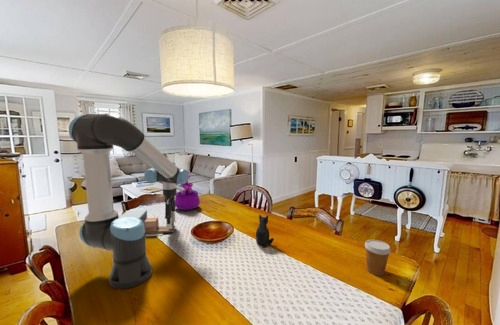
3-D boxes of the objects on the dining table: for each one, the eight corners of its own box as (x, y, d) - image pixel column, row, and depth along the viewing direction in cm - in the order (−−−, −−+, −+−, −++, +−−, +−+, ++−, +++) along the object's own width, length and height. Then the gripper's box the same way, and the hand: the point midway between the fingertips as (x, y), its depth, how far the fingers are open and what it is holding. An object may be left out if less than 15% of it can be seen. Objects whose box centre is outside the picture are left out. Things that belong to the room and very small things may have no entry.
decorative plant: (186, 214, 163) (184, 173, 159) (169, 209, 173) (167, 170, 169) (204, 207, 178) (204, 169, 174) (188, 203, 188) (187, 167, 184)
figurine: (274, 241, 123) (275, 214, 121) (272, 250, 113) (273, 221, 111) (257, 239, 124) (257, 213, 123) (253, 248, 115) (253, 219, 113)
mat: (162, 235, 129) (162, 235, 129) (143, 236, 127) (143, 235, 127) (166, 227, 140) (166, 227, 140) (149, 228, 138) (149, 227, 138)
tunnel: (167, 236, 128) (166, 217, 126) (104, 239, 123) (102, 219, 122) (172, 226, 141) (171, 209, 140) (115, 229, 137) (114, 211, 136)
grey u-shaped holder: (172, 232, 131) (172, 215, 130) (143, 233, 129) (142, 216, 128) (175, 227, 138) (174, 211, 137) (147, 228, 136) (146, 212, 135)
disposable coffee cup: (388, 281, 89) (391, 252, 88) (361, 273, 94) (363, 246, 93) (388, 269, 97) (391, 242, 96) (364, 262, 102) (365, 237, 101)
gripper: (172, 192, 121) (174, 232, 124) (179, 183, 143) (181, 218, 146) (157, 193, 120) (159, 233, 123) (167, 184, 142) (168, 218, 145)
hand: (171, 225), depth 134 cm, fingers open, 9 cm apart
